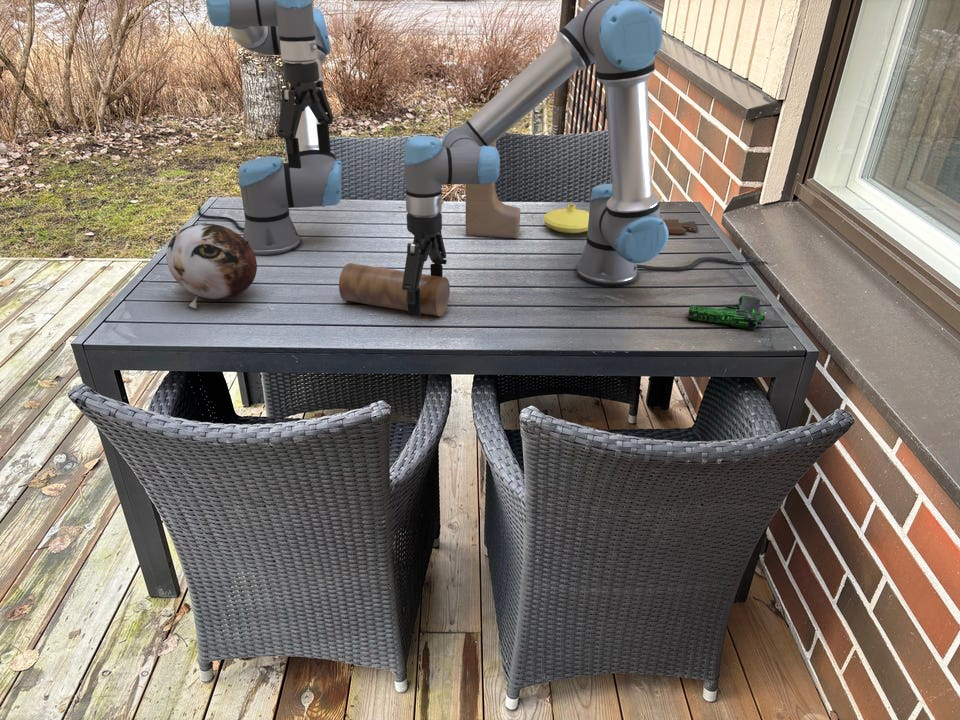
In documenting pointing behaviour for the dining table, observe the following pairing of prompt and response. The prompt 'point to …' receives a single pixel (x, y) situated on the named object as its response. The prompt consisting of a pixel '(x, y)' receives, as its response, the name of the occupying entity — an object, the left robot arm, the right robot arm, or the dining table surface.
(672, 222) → the brown jagged flat piece
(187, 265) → the cat face balloon
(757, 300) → the handgun
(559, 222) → the yellow lid
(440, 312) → the rod
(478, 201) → the decorative block
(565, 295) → the dining table surface
